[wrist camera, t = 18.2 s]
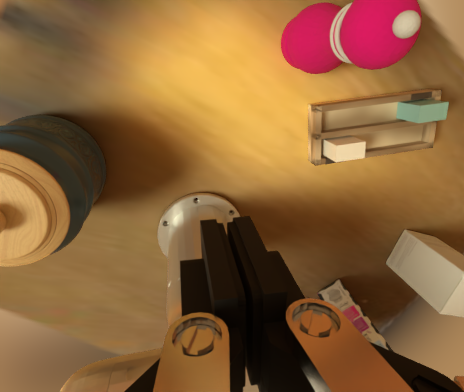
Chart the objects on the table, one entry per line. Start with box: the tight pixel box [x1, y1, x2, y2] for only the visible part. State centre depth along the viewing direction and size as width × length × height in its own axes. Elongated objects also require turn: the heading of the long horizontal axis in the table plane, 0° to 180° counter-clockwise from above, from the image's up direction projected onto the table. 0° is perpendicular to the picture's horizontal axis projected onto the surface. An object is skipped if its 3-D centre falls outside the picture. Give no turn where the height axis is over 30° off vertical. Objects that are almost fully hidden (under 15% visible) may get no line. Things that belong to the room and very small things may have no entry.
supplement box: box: [386, 229, 464, 318], centre depth 50 cm, size 7×7×13 cm
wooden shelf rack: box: [308, 89, 442, 166], centre depth 44 cm, size 8×18×3 cm, turn 96°
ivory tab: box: [321, 135, 366, 162], centre depth 43 cm, size 2×4×4 cm, turn 95°
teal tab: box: [396, 99, 449, 123], centre depth 43 cm, size 2×4×4 cm, turn 96°
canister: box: [0, 115, 106, 266], centre depth 32 cm, size 13×13×18 cm
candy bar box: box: [317, 279, 393, 352], centre depth 51 cm, size 11×5×16 cm, turn 34°
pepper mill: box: [281, 0, 421, 74], centre depth 31 cm, size 7×7×20 cm
